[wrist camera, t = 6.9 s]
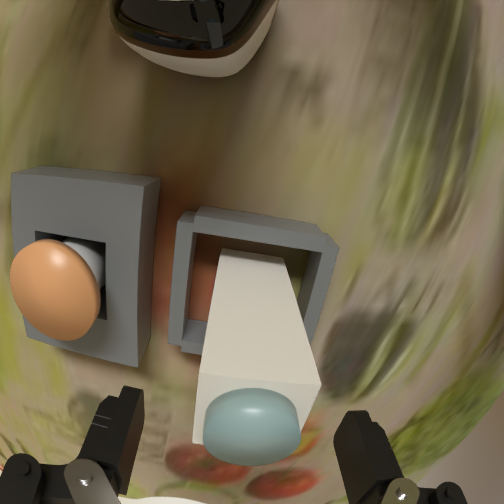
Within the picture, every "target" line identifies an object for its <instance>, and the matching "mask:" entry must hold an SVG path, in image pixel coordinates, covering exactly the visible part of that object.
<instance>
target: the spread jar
mask: <svg viewBox="0 0 504 504" xmlns="http://www.w3.org/2000/svg"><path fill="white" fill-rule="evenodd" d="M278 2H279V0H110V17H111V21H112V24H113V27H114V29H115V31H116V33H117V34H118V35H119V37H120V38H121V39H122V40H123V41H124V42H125V43H126V44H127V45H128V46H129V47H130V48H132V49H133V50H135V51H136V52H137V53H139V54H140V55H142V56H143V57H145V58H146V59H148V60H150V61H152V62H154V63H156V64H158V65H161V66H163V67H166V68H169V69H171V70H174V71H178V72H181V73H186V74H191V75H196V76H205V77H226V76H230V75H233V74H235V73H237V72H239V71H240V70H241V69H242V68H243V67H244V66H245V65H246V64H247V63H248V62H249V61H250V60H251V59H252V57H253V56H254V54H255V53H256V51H257V50H258V48H259V47H260V45H261V44H262V42H263V40H264V38H265V36H266V35H267V32H268V30H269V28H270V26H271V23H272V21H273V18H274V15H275V12H276V9H277V5H278Z"/></svg>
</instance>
